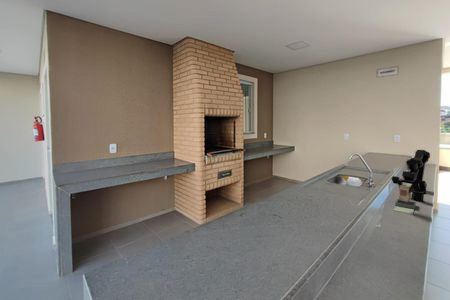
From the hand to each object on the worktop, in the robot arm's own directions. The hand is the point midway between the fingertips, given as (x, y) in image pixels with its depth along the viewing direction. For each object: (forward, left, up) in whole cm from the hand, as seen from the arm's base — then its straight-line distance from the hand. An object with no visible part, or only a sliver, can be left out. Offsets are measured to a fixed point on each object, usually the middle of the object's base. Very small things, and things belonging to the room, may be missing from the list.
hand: (404, 191), depth 151 cm
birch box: (-1, -1, -6) cm, 6 cm away
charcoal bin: (-8, -10, -14) cm, 19 cm away
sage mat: (-1, 0, -14) cm, 14 cm away
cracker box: (-44, -56, -14) cm, 73 cm away
